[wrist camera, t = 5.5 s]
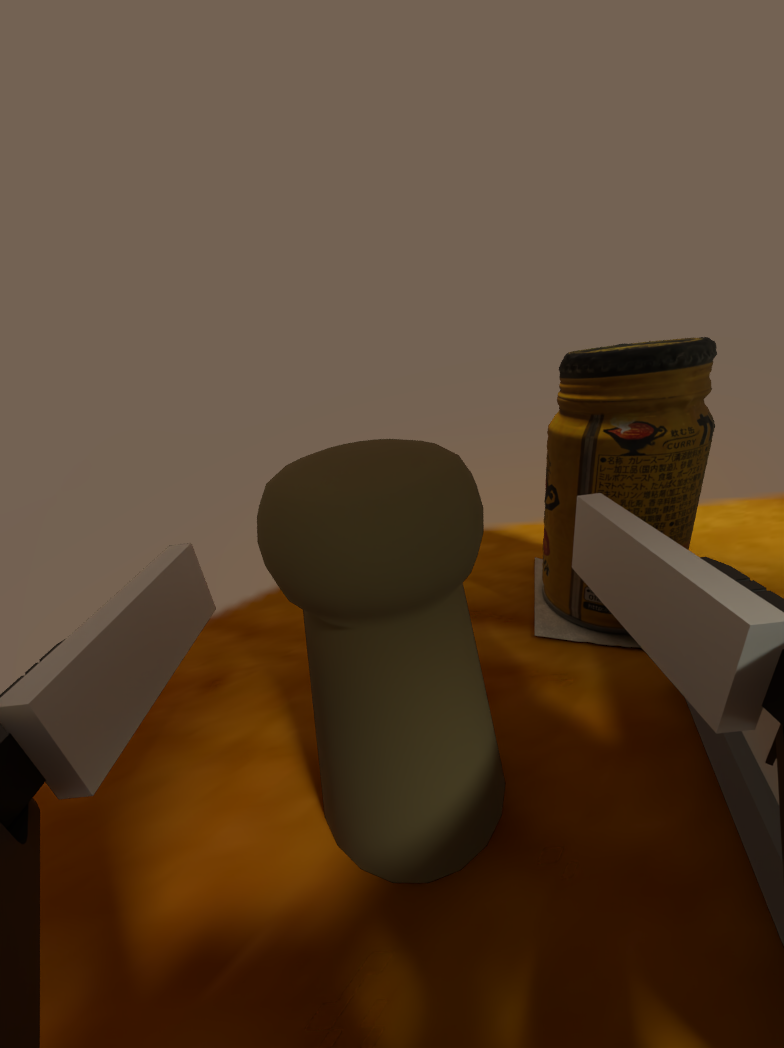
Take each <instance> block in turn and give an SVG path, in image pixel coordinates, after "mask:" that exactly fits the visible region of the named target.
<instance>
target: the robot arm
mask: <svg viewBox="0 0 784 1048" xmlns="http://www.w3.org/2000/svg"><path fill="white" fill-rule="evenodd" d="M572 568H573V569H574V571H575V572H576V573H577V574H578V575H579V576H580V577H581V579H582V580H583V581H584V582H585V583H586V584H587V585H588V587H589V588H590V589H591V590H592V591H593V592H594V594H595V595H596V596H597V597H598V598H599V599H600V600H601V602H602V603H603V604H604V605H605V606H606V607H607V608H608V610H609V611H610V612H611V613H612V614H613V615H614V617H615V618H616V619H617V620H618V621H619V622H620V623H621V625H622V626H623V627H624V628H625V629H626V630H627V631H628V633H629V634H630V635H631V636H632V637H633V638H634V640H635V641H636V642H637V643H638V644H639V645H640V646H641V648H642V649H643V650H644V651H645V652H646V653H647V654H648V656H649V657H650V658H651V659H652V660H653V661H654V662H655V664H656V665H657V666H658V667H659V668H660V669H661V671H662V672H663V673H664V674H665V675H666V676H667V677H668V679H669V680H670V681H671V682H672V683H673V684H674V685H675V687H676V688H677V689H678V690H679V691H680V692H681V694H682V695H683V696H684V697H685V698H686V699H687V700H688V702H689V703H690V704H691V705H692V706H693V707H694V708H695V710H696V711H697V712H698V713H699V714H700V715H701V717H702V718H703V719H704V720H705V721H706V722H707V723H708V725H709V726H710V727H711V728H712V729H713V730H714V731H715V733H716V734H717V733H727V732H737V731H747V730H755V728H756V725H757V723H758V720H759V717H760V715H761V712H762V709H763V708H764V709H766V710H767V711H768V712H769V713H770V714H771V715H772V716H773V717H774V718H775V719H776V720H777V721H778V722H779V723H780V726H779V729H778V731H777V734H776V736H775V739H774V741H773V743H772V746H771V748H770V751H769V753H768V756H767V759H766V762H765V763H767V764H769V765H772V766H773V764H774V762H775V759H776V758H777V772H778V790H779V808H780V826H781V844H782V862H783V880H784V599H783V598H781V597H780V596H778V595H776V594H775V593H773V592H771V591H767V590H766V588H765V587H763V586H762V585H760V584H759V583H757V582H755V581H754V580H753V581H750V578H749V577H747V576H746V575H744V574H742V573H741V572H739V571H738V570H736V569H734V568H733V567H731V566H729V565H726V564H724V563H721V562H718V561H716V560H713V559H710V558H707V557H700V558H699V557H698V556H696V555H695V554H693V553H692V552H690V551H689V550H687V549H686V548H684V547H683V546H681V545H680V544H678V543H676V542H675V541H673V540H672V539H670V538H669V537H667V536H666V535H664V534H663V533H661V532H660V531H658V530H657V529H655V528H653V527H652V526H650V525H649V524H647V523H646V522H644V521H643V520H641V519H640V518H638V517H637V516H635V515H634V514H632V513H630V512H629V511H627V510H626V509H624V508H623V507H621V506H620V505H618V504H617V503H615V502H614V501H612V500H611V499H609V498H607V497H606V496H604V495H603V494H601V493H596V494H588V495H580V496H577V504H576V517H575V531H574V544H573V558H572ZM215 609H216V607H215V605H214V602H213V599H212V597H211V594H210V591H209V589H208V586H207V583H206V581H205V578H204V576H203V573H202V570H201V568H200V566H199V563H198V560H197V557H196V554H195V552H194V549H193V546H192V544H191V543H187V544H180V545H171V546H169V547H168V548H166V549H165V550H164V551H163V552H162V553H161V554H160V555H159V556H157V557H156V559H154V560H153V561H152V562H151V563H150V564H149V565H147V566H146V567H145V568H144V569H143V570H142V571H141V572H140V573H139V574H137V575H136V576H135V577H134V578H133V579H132V580H131V581H130V582H129V583H128V584H126V585H125V586H124V587H123V588H122V589H121V590H120V591H119V592H117V593H116V594H115V595H114V596H113V597H112V598H111V599H110V600H109V601H107V602H106V603H105V604H104V605H103V606H102V607H101V608H100V609H99V610H97V612H95V613H94V614H93V615H92V616H91V617H90V618H89V619H87V620H86V622H84V623H83V624H82V625H81V626H80V627H79V628H77V629H76V630H75V631H74V632H73V633H72V634H71V635H70V636H69V637H68V638H66V639H65V640H63V641H61V642H60V643H58V644H57V645H56V646H54V647H53V648H52V649H51V650H50V651H49V652H48V653H47V654H45V656H43V657H42V658H41V659H40V662H39V663H35V664H34V665H33V666H32V667H31V668H30V669H29V670H28V671H27V672H26V673H25V676H21V677H20V678H19V679H17V680H16V681H15V682H14V683H13V684H12V685H11V686H10V687H9V688H7V689H6V690H5V691H4V692H3V693H2V694H1V695H0V1048H40V809H39V807H38V805H37V803H36V802H35V800H34V799H33V798H32V797H33V796H34V795H35V794H36V792H37V791H38V790H39V789H40V787H41V786H42V785H43V784H44V782H46V783H47V785H48V786H49V787H50V789H51V790H52V791H53V792H54V794H55V795H56V796H57V798H58V799H67V798H77V797H87V796H93V795H94V794H95V792H96V791H97V789H98V788H99V786H100V785H101V783H102V782H103V780H104V778H105V777H106V775H107V774H108V772H109V771H110V769H111V768H112V766H113V765H114V763H115V762H116V760H117V759H118V757H119V756H120V754H121V753H122V751H123V750H124V748H125V747H126V745H127V743H128V742H129V740H130V739H131V737H132V736H133V734H134V733H135V731H136V730H137V728H138V727H139V725H140V724H141V722H142V721H143V719H144V718H145V716H146V715H147V713H148V711H149V710H150V708H151V707H152V705H153V704H154V702H155V701H156V699H157V698H158V696H159V695H160V693H161V692H162V690H163V689H164V687H165V686H166V684H167V683H168V681H169V680H170V678H171V676H172V675H173V673H174V672H175V670H176V669H177V667H178V666H179V664H180V663H181V661H182V660H183V658H184V657H185V655H186V654H187V652H188V651H189V649H190V648H191V646H192V644H193V643H194V641H195V640H196V638H197V637H198V635H199V634H200V632H201V631H202V629H203V628H204V626H205V625H206V623H207V622H208V620H209V619H210V617H211V616H212V614H213V612H214V611H215Z"/></svg>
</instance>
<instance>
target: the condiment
mask: <svg viewBox="0 0 784 1048" xmlns="http://www.w3.org/2000/svg"><path fill="white" fill-rule="evenodd" d="M716 355H717V352H716V343H715V342H714V341H712V340H711V339H710V338H707V337H704V338H703V337H701V338H685V339H673V340H663V341H652V342H651V341H649V342H642V343H631V344H619V345H613V346H607V347H600V348H591V349H586V350H579V351H573V352H569V353H567V354H566V355H565V356H564V359H563V360H562V362H561V365H560V367H559V371H560V381H561V382H560V386H559V387H560V389H561V390H560V392H559V393H558V397H557V402H558V405H559V409H560V410H559V412H558V413H557V414H556V415H555V416H554V418H553V420H552V421H551V423H550V424H549V426H548V432H547V433H548V441H547V450H548V451H547V467H546V494H545V513H544V515H545V516H544V538H543V559H539V558H536V557H535V636H543V637H550V638H557V639H565V640H571V641H577V642H592V643H595V644H603V645H611V646H615V645H620V646H623V647H641V646H640V645H639V644H638V643H637V642H636V641H635V640H634V638H633V637H632V636H631V635H630V634H629V633H628V631H627V630H626V629H625V628H624V627H623V626H622V625H621V623H620V622H619V621H618V620H617V619H616V618H615V617H614V615H613V614H612V613H611V612H610V611H609V610H608V608H607V607H606V606H605V605H604V604H603V603H602V602H601V600H600V599H599V598H598V597H597V596H596V595H595V594H594V592H593V591H592V590H591V589H590V588H589V587H588V585H587V584H586V583H585V582H584V581H583V580H582V579H581V577H580V576H579V575H578V574H577V573H576V572H575V571H574V569H573V568H572V558H573V544H574V531H575V517H576V504H577V496H580V495H588V494H596V493H601V494H603V495H604V496H606V497H607V498H609V499H611V500H612V501H614V502H615V503H617V504H618V505H620V506H621V507H623V508H624V509H626V510H627V511H629V512H630V513H632V514H634V515H635V516H637V517H638V518H640V519H641V520H643V521H644V522H646V523H647V524H649V525H650V526H652V527H653V528H655V529H657V530H658V531H660V532H661V533H663V534H664V535H666V536H667V537H669V538H670V539H672V540H673V541H675V542H676V543H678V544H680V545H681V546H683V547H684V548H686V549H687V550H688V549H689V545H690V540H691V535H692V531H693V525H694V521H695V516H696V511H697V507H698V502H699V497H700V493H701V487H702V483H703V478H704V473H705V469H706V465H707V459H708V455H709V451H710V447H711V442H712V436H713V432H714V428H715V424H714V420H713V417H712V415H711V413H710V412H709V409H708V407H707V406H706V405H705V404H704V398H705V397H706V396H707V395H708V394H709V393H710V392H711V390H712V388H711V380H710V378H709V374H710V372H711V370H712V369H711V368H712V365H713V359H714V357H715V356H716Z"/></svg>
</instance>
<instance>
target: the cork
mask: <svg viewBox="0 0 784 1048" xmlns="http://www.w3.org/2000/svg"><path fill="white" fill-rule="evenodd" d="M257 533H258V544H259V548H260V551H261V554H262V557H263V560H264V563H265V566H266V567H267V569H268V571H269V572H270V574H271V575H272V577H273V578H274V580H275V581H276V583H277V585H278V586H279V588H280V589H281V590H282V592H283V593H284V594H285V596H286V597H287V599H288V600H289V601H290V602H292V603H293V604H295V605H297V606H298V607H300V608H301V609H303V614H304V623H305V633H306V642H307V652H308V661H309V671H310V680H311V690H312V699H313V708H314V718H315V727H316V737H317V746H318V756H319V765H320V775H321V784H322V794H323V803H324V812H325V818H326V820H327V822H328V825H329V827H330V829H331V831H332V834H333V836H334V838H335V840H336V843H337V845H338V846H339V847H340V848H341V849H342V850H343V851H344V852H345V853H346V854H347V855H348V856H349V857H350V858H351V859H352V860H353V861H354V862H355V863H356V864H357V865H358V866H359V867H360V869H362V870H365V871H367V872H369V873H372V874H374V875H376V876H378V877H381V878H383V879H385V880H388V881H390V882H392V883H429V882H431V881H434V880H436V879H439V878H441V877H444V876H446V875H449V874H451V873H454V872H456V871H459V870H461V869H462V868H463V867H464V866H465V865H466V864H468V863H469V862H470V861H471V860H472V859H473V858H474V857H475V856H476V855H477V854H478V853H479V852H480V851H481V850H482V849H483V848H484V847H486V846H487V844H488V842H489V840H490V838H491V836H492V833H493V831H494V829H495V827H496V825H497V823H498V821H499V819H500V817H501V815H502V807H503V799H504V791H505V780H504V775H503V770H502V765H501V760H500V755H499V750H498V746H497V741H496V736H495V732H494V727H493V722H492V718H491V713H490V708H489V704H488V699H487V694H486V690H485V685H484V680H483V676H482V671H481V666H480V662H479V657H478V652H477V648H476V643H475V638H474V634H473V629H472V624H471V620H470V615H469V610H468V606H467V601H466V597H465V592H464V587H463V582H464V580H465V579H466V578H467V577H468V575H469V574H470V573H471V571H472V569H473V566H474V563H475V560H476V558H477V555H478V551H479V547H480V543H481V539H482V535H483V505H482V502H481V499H480V495H479V492H478V489H477V485H476V483H475V480H474V478H473V476H472V473H471V472H470V471H469V469H468V468H467V467H466V465H465V464H464V462H463V461H462V460H461V458H460V457H459V455H457V454H455V453H453V452H451V451H449V450H447V449H445V448H443V447H441V446H439V445H437V444H435V443H429V442H424V441H415V440H414V441H413V440H399V439H398V440H397V439H379V440H368V441H359V442H354V443H348V444H343V445H339V446H335V447H331V448H328V449H325V450H322V451H319V452H316V453H314V454H311V455H308V456H306V457H303V458H300V459H298V460H296V461H294V462H292V463H290V464H288V465H287V466H285V467H284V468H283V469H282V470H281V471H280V472H279V473H278V474H276V475H275V476H274V477H273V478H272V479H271V480H270V481H269V482H268V483H267V484H266V486H265V490H264V493H263V496H262V499H261V502H260V505H259V511H258V515H257Z"/></svg>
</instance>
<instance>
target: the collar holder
mask: <svg viewBox="0 0 784 1048" xmlns="http://www.w3.org/2000/svg"><path fill="white" fill-rule="evenodd" d="M685 699H686V698H685ZM686 702H687V704H688V707H689V709H690V712H691V714H692V717H693V719H694V722H695V724H696V727H697V729H698V732H699V734H700V737H701V739H702V742H703V744H704V747H705V750H706V752H707V755H708V757H709V760H710V762H711V765H712V767H713V770H714V772H715V775H716V777H717V780H718V782H719V785H720V787H721V790H722V792H723V795H724V797H725V800H726V802H727V805H728V807H729V810H730V813H731V815H732V818H733V820H734V823H735V825H736V828H737V830H738V833H739V835H740V838H741V840H742V843H743V845H744V848H745V850H746V853H747V855H748V858H749V860H750V863H751V865H752V868H753V871H754V873H755V876H756V878H757V881H758V883H759V886H760V888H761V891H762V893H763V896H764V898H765V901H766V903H767V906H768V908H769V911H770V913H771V916H772V918H773V921H774V923H775V926H776V928H777V931H778V934H779V936H780V939H781V941H782V944H783V946H784V880H783V862H782V844H781V826H780V808H779V790H778V772H777V758H776V759H775V762H774V764H773V766H772V765H769V764H767V763H765V762H766V759H767V756H768V753H769V751H770V748H771V746H772V743H773V741H774V739H775V736H776V734H777V731H778V729H779V726H780V723H779V722H778V721H777V720H776V719H775V718H774V717H773V716H772V715H771V714H770V713H769V712H768V711H767V710H766V709H764V708H763V709H762V712H761V715H760V717H759V720H758V723H757V725H756V728H755V730H747V731H737V732H727V733H717V734H716V733H715V731H714V730H713V729H712V728H711V727H710V726H709V725H708V723H707V722H706V721H705V720H704V719H703V718H702V717H701V715H700V714H699V713H698V712H697V711H696V710H695V708H694V707H693V706H692V705H691V704H690V703H689V702H688V700H687V699H686Z"/></svg>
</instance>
